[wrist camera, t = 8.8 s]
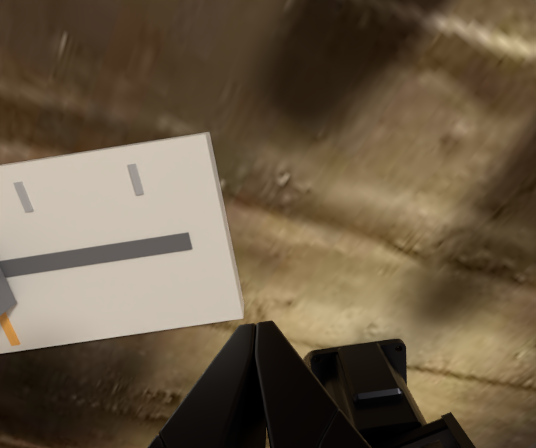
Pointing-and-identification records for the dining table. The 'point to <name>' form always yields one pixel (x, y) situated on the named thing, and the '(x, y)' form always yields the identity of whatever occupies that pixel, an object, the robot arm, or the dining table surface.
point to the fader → (5, 294)
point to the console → (115, 244)
